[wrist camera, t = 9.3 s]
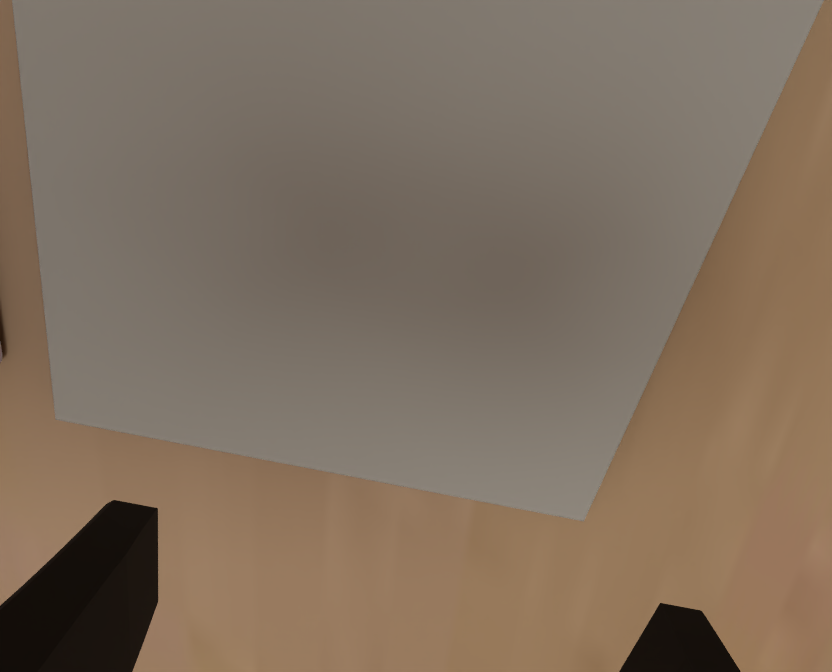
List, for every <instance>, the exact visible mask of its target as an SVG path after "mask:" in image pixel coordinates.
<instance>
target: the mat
mask: <svg viewBox="0 0 832 672" xmlns="http://www.w3.org/2000/svg"><path fill="white" fill-rule="evenodd" d="M823 1H824V0H12V4H13V14H14V23H15V33H16V43H17V52H18V62H19V71H20V81H21V91H22V100H23V110H24V120H25V129H26V139H27V149H28V158H29V168H30V177H31V187H32V197H33V206H34V216H35V226H36V235H37V245H38V255H39V264H40V274H41V283H42V293H43V303H44V312H45V322H46V332H47V341H48V351H49V360H50V370H51V380H52V389H53V399H54V409H55V418H56V420H60V421H66V422H71V423H76V424H81V425H86V426H92V427H97V428H102V429H107V430H112V431H118V432H123V433H128V434H133V435H138V436H144V437H149V438H154V439H159V440H164V441H169V442H175V443H180V444H185V445H190V446H195V447H201V448H206V449H211V450H216V451H221V452H227V453H232V454H237V455H242V456H247V457H253V458H258V459H263V460H268V461H273V462H278V463H284V464H289V465H294V466H299V467H304V468H310V469H315V470H320V471H325V472H330V473H336V474H341V475H346V476H351V477H356V478H362V479H367V480H372V481H377V482H382V483H387V484H393V485H398V486H403V487H408V488H413V489H419V490H424V491H429V492H434V493H439V494H445V495H450V496H455V497H460V498H465V499H471V500H476V501H481V502H486V503H491V504H497V505H502V506H507V507H512V508H517V509H522V510H528V511H533V512H538V513H543V514H548V515H554V516H559V517H564V518H569V519H574V520H580V521H584V520H585V517H586V515H587V513H588V511H589V509H590V506H591V504H592V502H593V500H594V498H595V496H596V493H597V491H598V489H599V487H600V485H601V483H602V480H603V478H604V476H605V474H606V472H607V470H608V467H609V465H610V463H611V461H612V459H613V457H614V454H615V452H616V450H617V448H618V446H619V444H620V441H621V439H622V437H623V435H624V433H625V430H626V428H627V426H628V424H629V422H630V420H631V417H632V415H633V413H634V411H635V409H636V407H637V404H638V402H639V400H640V398H641V396H642V394H643V391H644V389H645V387H646V385H647V383H648V381H649V378H650V376H651V374H652V372H653V370H654V368H655V365H656V363H657V361H658V359H659V357H660V355H661V352H662V350H663V348H664V346H665V344H666V341H667V339H668V337H669V335H670V333H671V331H672V328H673V326H674V324H675V322H676V320H677V318H678V315H679V313H680V311H681V309H682V307H683V305H684V302H685V300H686V298H687V296H688V294H689V292H690V289H691V287H692V285H693V283H694V281H695V279H696V276H697V274H698V272H699V270H700V268H701V266H702V263H703V261H704V259H705V257H706V255H707V252H708V250H709V248H710V246H711V244H712V242H713V239H714V237H715V235H716V233H717V231H718V229H719V226H720V224H721V222H722V220H723V218H724V216H725V213H726V211H727V209H728V207H729V205H730V203H731V200H732V198H733V196H734V194H735V192H736V190H737V187H738V185H739V183H740V181H741V179H742V176H743V174H744V172H745V170H746V168H747V166H748V163H749V161H750V159H751V157H752V155H753V153H754V150H755V148H756V146H757V144H758V142H759V140H760V137H761V135H762V133H763V131H764V129H765V127H766V124H767V122H768V120H769V118H770V116H771V114H772V111H773V109H774V107H775V105H776V103H777V101H778V98H779V96H780V94H781V92H782V90H783V87H784V85H785V83H786V81H787V79H788V77H789V74H790V72H791V70H792V68H793V66H794V64H795V61H796V59H797V57H798V55H799V53H800V51H801V48H802V46H803V44H804V42H805V40H806V38H807V35H808V33H809V31H810V29H811V27H812V25H813V22H814V20H815V18H816V16H817V14H818V12H819V9H820V7H821V5H822V3H823Z"/></svg>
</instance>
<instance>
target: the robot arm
mask: <svg viewBox="0 0 832 672" xmlns="http://www.w3.org/2000/svg"><path fill="white" fill-rule="evenodd" d="M1 361H2V349H1V343H0V362H1ZM157 603H158V508H153V507H148V506H143V505H138V504H132V503H127V502H122V501H116V500H113V501H111V502H109V503H108V504H106V505H105V506H104V507H103V508H102V509H101V510H100V511H99V512H98V513H97V514H96V515H95V516H94V517H93V518H92V519H91V520H90V521H89V522H88V523H87V524H86V525H85V526H84V527H83V528H82V529H81V530H80V531H79V532H78V533H77V534H76V535H75V536H74V537H73V538H72V539H71V540H70V541H69V542H68V543H67V544H66V545H65V546H64V547H63V548H62V549H61V550H60V551H59V552H58V553H57V554H56V555H55V556H54V557H53V558H52V559H50V560H49V561H48V562H47V563H46V564H45V565H44V566H43V567H42V568H41V569H40V570H39V571H38V572H37V573H36V574H35V575H34V576H32V577H31V578H30V579H29V580H28V581H27V582H26V583H25V584H24V585H23V586H22V587H21V588H19V589H18V590H17V591H16V592H15V593H14V594H13V595H12V596H11V597H9V598H8V599H7V600H6V601H5V602H4V603H3V604H2V605H1V606H0V672H132V671H133V668H134V666H135V663H136V660H137V658H138V655H139V652H140V650H141V647H142V644H143V642H144V639H145V636H146V634H147V631H148V628H149V625H150V622H151V620H152V617H153V614H154V611H155V609H156V606H157ZM619 672H740V670H739V668H738V667H737V665H736V664H735V662H734V660H733V659H732V657H731V656H730V654H729V653H728V651H727V649H726V648H725V646H724V645H723V643H722V642H721V640H720V638H719V637H718V635H717V634H716V632H715V631H714V629H713V627H712V626H711V624H710V623H709V621H708V620H707V618H706V617H705V615H704V614H703V612H702V611H700V610H695V609H690V608H684V607H679V606H674V605H668V604H663V603H660V604H659V606H658V608H657V609H656V611H655V613H654V614H653V616H652V618H651V619H650V621H649V623H648V625H647V626H646V628H645V630H644V631H643V633H642V635H641V636H640V638H639V640H638V641H637V643H636V645H635V646H634V648H633V650H632V651H631V653H630V655H629V656H628V658H627V660H626V661H625V663H624V665H623V666H622V668H621V670H620V671H619Z"/></svg>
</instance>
